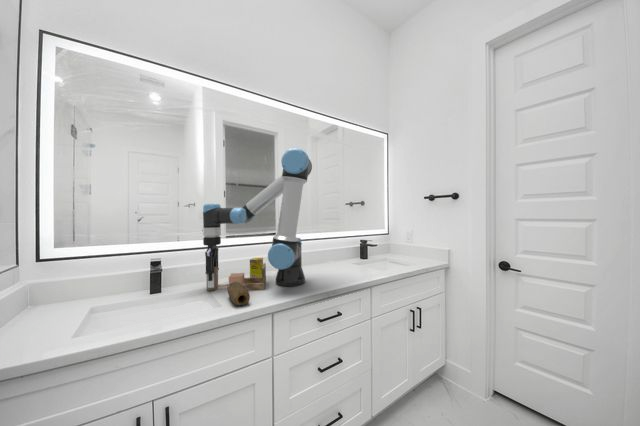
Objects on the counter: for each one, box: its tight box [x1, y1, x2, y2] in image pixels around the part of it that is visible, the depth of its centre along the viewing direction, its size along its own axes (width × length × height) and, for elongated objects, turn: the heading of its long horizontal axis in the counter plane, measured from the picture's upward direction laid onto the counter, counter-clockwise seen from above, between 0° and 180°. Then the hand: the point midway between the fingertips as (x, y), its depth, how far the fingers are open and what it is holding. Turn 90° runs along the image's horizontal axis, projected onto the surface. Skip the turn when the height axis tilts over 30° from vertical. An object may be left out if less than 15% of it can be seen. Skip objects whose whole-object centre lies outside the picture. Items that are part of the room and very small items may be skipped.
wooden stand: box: [242, 262, 267, 292], centre depth 115 cm, size 11×12×10 cm
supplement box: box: [249, 257, 264, 278], centre depth 131 cm, size 6×6×11 cm
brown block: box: [205, 266, 245, 291], centre depth 113 cm, size 16×7×10 cm, turn 100°
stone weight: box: [227, 282, 251, 306], centre depth 96 cm, size 15×7×7 cm, turn 35°
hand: (212, 285), depth 112 cm, fingers closed on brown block, 4 cm apart
